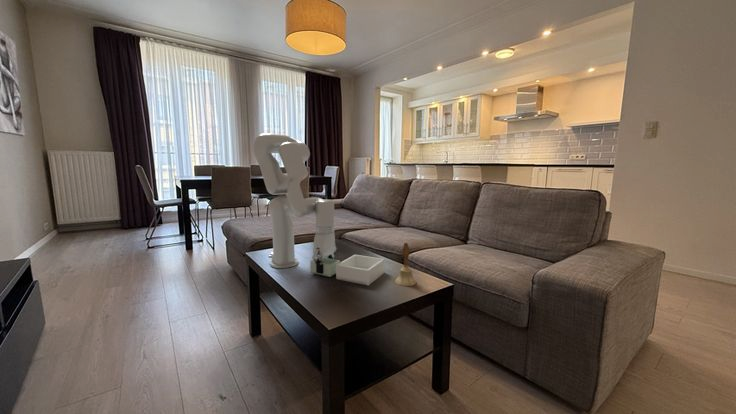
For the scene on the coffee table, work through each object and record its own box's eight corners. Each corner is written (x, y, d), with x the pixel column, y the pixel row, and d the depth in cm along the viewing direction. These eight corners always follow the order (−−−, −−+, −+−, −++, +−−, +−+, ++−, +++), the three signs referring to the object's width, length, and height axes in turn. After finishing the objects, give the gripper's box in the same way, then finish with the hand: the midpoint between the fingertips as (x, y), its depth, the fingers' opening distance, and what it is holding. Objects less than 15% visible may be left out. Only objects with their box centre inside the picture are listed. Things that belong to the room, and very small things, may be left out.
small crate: (310, 272, 128) (310, 261, 127) (320, 267, 134) (320, 256, 133) (330, 277, 123) (330, 265, 122) (339, 271, 129) (339, 260, 129)
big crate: (336, 279, 123) (336, 264, 122) (355, 267, 137) (354, 254, 136) (368, 285, 116) (368, 270, 115) (384, 272, 130) (384, 259, 129)
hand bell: (406, 288, 114) (407, 247, 112) (390, 281, 120) (391, 242, 118) (420, 282, 119) (421, 243, 117) (405, 276, 126) (405, 239, 123)
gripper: (329, 224, 135) (329, 262, 138) (304, 232, 120) (305, 275, 122) (343, 226, 132) (343, 265, 134) (320, 234, 116) (320, 278, 119)
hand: (325, 269), depth 128 cm, fingers closed on small crate, 7 cm apart
